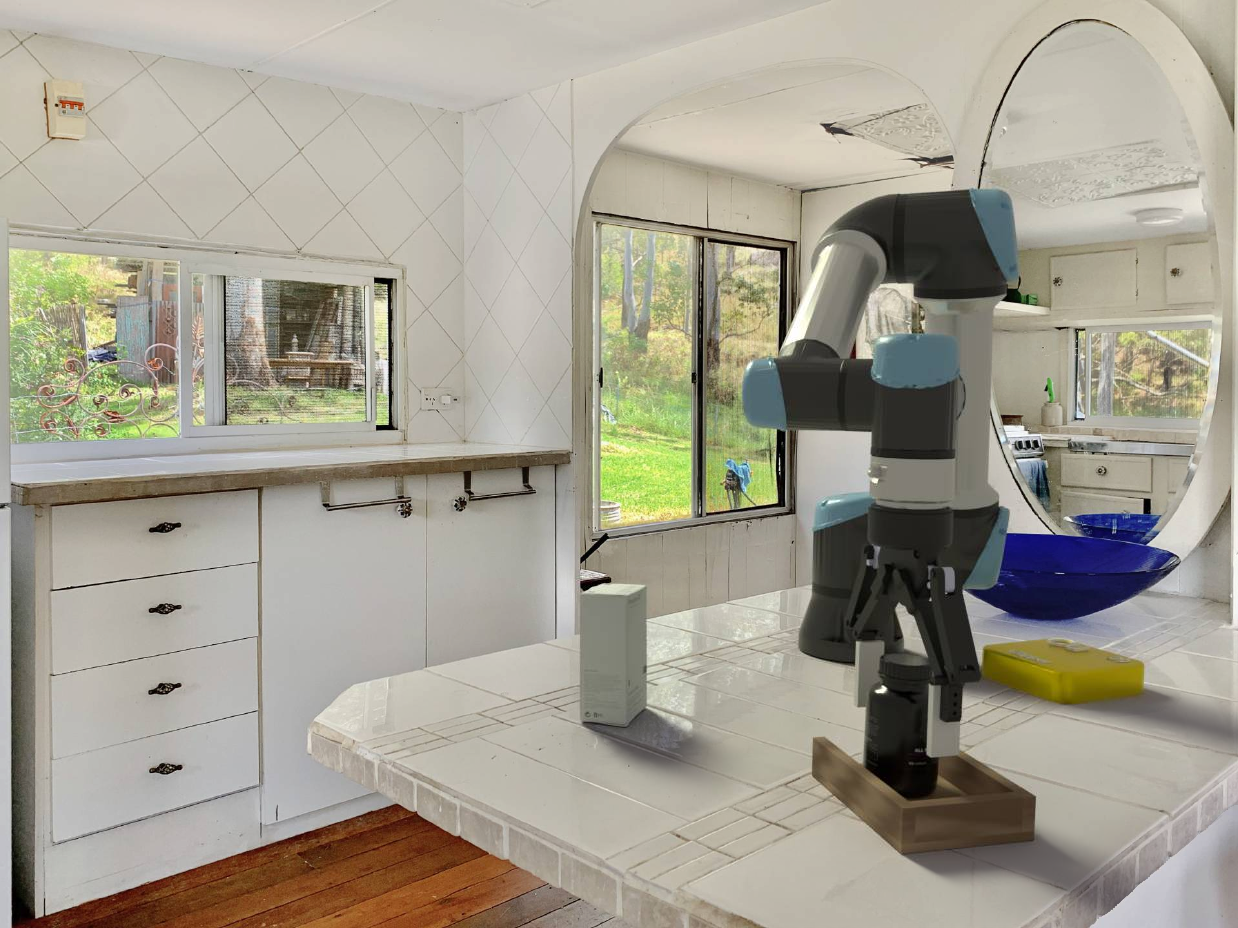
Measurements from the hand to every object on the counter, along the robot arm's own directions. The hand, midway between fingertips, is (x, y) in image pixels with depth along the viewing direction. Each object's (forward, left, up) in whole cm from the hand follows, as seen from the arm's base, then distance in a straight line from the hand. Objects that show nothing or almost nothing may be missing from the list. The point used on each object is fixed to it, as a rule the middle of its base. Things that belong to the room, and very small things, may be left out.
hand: (902, 728), depth 94 cm
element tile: (-29, +39, -7) cm, 49 cm away
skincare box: (-28, -21, -6) cm, 35 cm away
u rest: (+3, 0, -6) cm, 7 cm away
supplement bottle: (0, 0, -5) cm, 6 cm away
